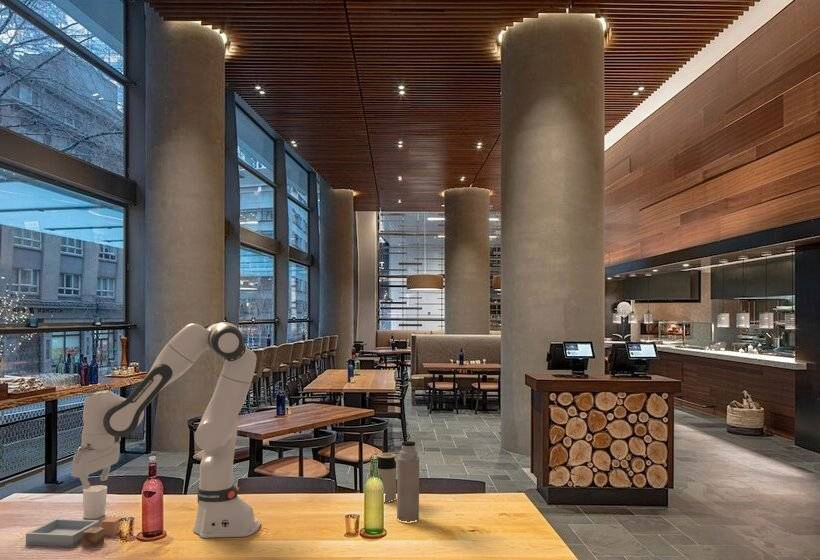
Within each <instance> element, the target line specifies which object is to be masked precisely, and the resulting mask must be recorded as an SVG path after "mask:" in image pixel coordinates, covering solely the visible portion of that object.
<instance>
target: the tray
mask: <svg viewBox="0 0 820 560" xmlns="http://www.w3.org/2000/svg"><path fill="white" fill-rule="evenodd" d="M100 522H101V520H97V519H71V518H54V519H52V520H50V521H48V522H46V523H45V524H42V525H39V527H36V528H34V529H32V530H31V531H28V532H26V533H25V545H26V546H48V547H69V548H74V547H75V546H76V545H78V544H80V543H82V538H83V532H84V531H86V530H88V529H89V528H91V527H96V528H100Z"/></svg>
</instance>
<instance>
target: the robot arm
mask: <svg viewBox="0 0 820 560" xmlns="http://www.w3.org/2000/svg"><path fill="white" fill-rule="evenodd" d="M208 351H212V352H215V354H217V355H218V356H219V357H221V358H223V359H224V361H223V366H222V369H221V371H220V375H219V377H218V380H217V382H216V385H215V388H214V391H213V394H212V396H211V399H210V401H209V402H208V404H207V406H206V408H205V411H204V412H203V415H202V417H201V419H200V421H199V424H198V426H197V428H196V431H195V433H194V442H195V444H196V446H197V447H198V448H199V449H200V450H203V452H202V456H201V457H202V458H201V461H200V464H199V485H198V486H199V487H197V513H196V518H195V523H194V525H193V529H192V531H193V532H194V533H195V534H197V535H199V537H200V538H202V539H205V538H206V539H207V538H234V537H235V538H237V537H238V538H239V537H240V538H241V537H243V538H244V537H247V536H251V535H253V534H254V533H256V532H257V531H258V530H259V529H260V528H259V527H261V526H260V525H261V524H262V523H261V520H259V519H255V513H254V509H253V508H252V506H251V505H250V504H248V503H247V502H245V501H244V499H242V498H241V497H239V496H238V494H239V493H238V491H239V490H240V486H238V487H235V486H234V484H233V482H234V481H233V480H234V479H233V478H234V477H233V474H234V460H235V459H234V457H235V452H236V444H237V437H238V429H239V421H238V419H237V418H238V416H239V414H240V412H241V410H242V409H243V406H244V404H245V402H246V398H247V396H248V393H249V391H250V387H251V384H252V381H253V378H254V374H255V371H256V365H257V354H256V353H255V352H254V351H253V350H251V348H248V347H246V345H245V339H244V335H243V333H242V332H241V330H240V329H239V328H238V326H237V325H235V324H233V323H232V322H230V321H226V320H225V321H224V320H221V321H217V322H214V323H212V324H209V325H207V326H203V325H201V324H198V323H193V322H192V323H188V324H187V325H185V326H184V327H182V328H181V329H180V330H179V331H178V332H177V333H176V334H174V336H173V337H172V338H171V339H170V340H169V341H168V342H167V343H166V345H165V346H164V347H163V348H162V349H161V351H160V353H159V354H158V355H157V356H156V359H155V360H154V362H153V364H152V365H151V368H150V369H149V372H148V373H147V374H146V376H145V378H144V379H143V380H142V381H141V382H140V383H139V385H138V386H136V388H135V389H134V390H133V391H132V392H131V394H130V395H129V396H128V397H127V398H125V397H122V396H120V395H117V394H116V393H114V392H113V391H112V390H109V389H108V390H107V389H106V390H99V391H96V392H92V393H90V394H89V395H87V397H86V398H85V399H84V404H83V411H82V423H83V428H82V431H81V445H80V446H79V447H78V449H77V450H76V451H75V453H74V455H73V458H72V463H71V471H70V474H71V476H72V478H79V480H80V482H81V489H82V490H83V489H88V488H90V486H91V482H89V477H90V475H92V474H93V473H96V472H98V471H101V470H102V473H101V474H100V476H99V478H100V481H101V482H102V481H103V482H104V481H107V480H108V478H109V473H110V471H111V466H112V465H115V464H117V463H118V461H119V459H120V445H121V444H120V442H121V438H126V437H128V436H129V435H131V434H132V433H133V432H134V431H135V430H136V429H137V427H138V426H139V425H140V424H141V423H142V421H143V420H144V418H145V409H146V408H147V407H148V406H149V404H150V403H151V402H153V400H154V399H155V398H156V396H157V395H158V394H159V393H160V392H161V391H162V390H163V389H164V388H166V387H167V386H168V385H170V384H171V383H172V382H175V380H177V379H178V378H180V377H181V376H183V374H185V373H186V372H187V371H188V370H189V369H190V368H191V367H192V366H193V365H194V364H195V363H196V361H197V360H198V359H199V357H201V356H202V355H203V354H204V353H205V352H208Z"/></svg>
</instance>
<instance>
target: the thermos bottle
mask: <svg viewBox="0 0 820 560" xmlns="http://www.w3.org/2000/svg"><path fill="white" fill-rule="evenodd" d="M401 445H402V446H401V450H400V451H399V454H398V455H399V456H397V462H396V520H397V519H399V520H401V521H407V522H410V521H415V520H418V519H420V515H419V514H420V457H419V456H418V454H419V453H418V451H417V450H416V446H415V445H416V442H415V441H412V440H411V441H410V440H409V441H406V440H405V441H403V442H402V443H401Z"/></svg>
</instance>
